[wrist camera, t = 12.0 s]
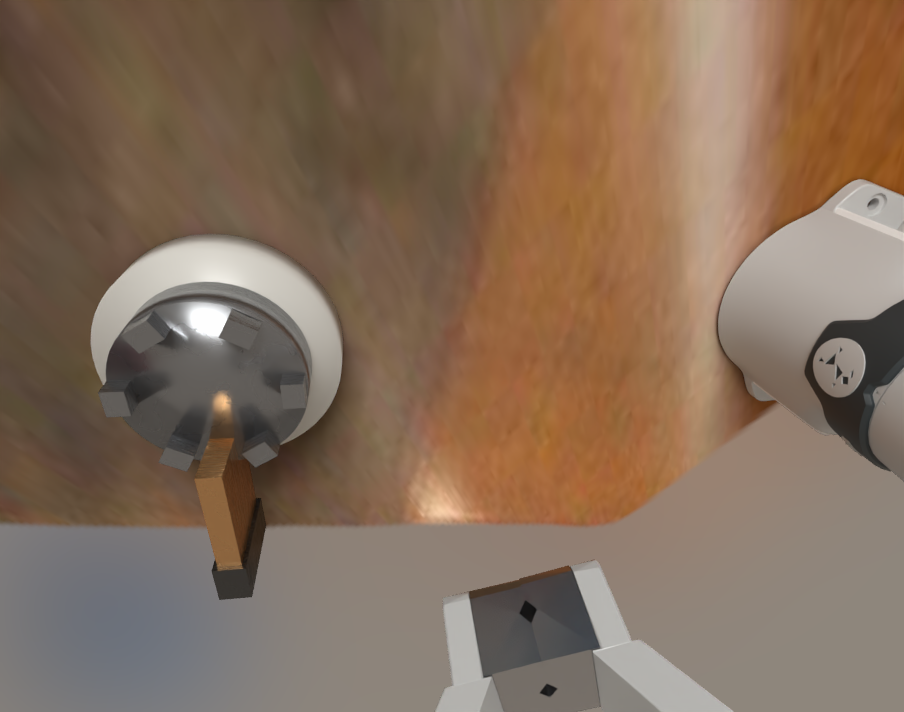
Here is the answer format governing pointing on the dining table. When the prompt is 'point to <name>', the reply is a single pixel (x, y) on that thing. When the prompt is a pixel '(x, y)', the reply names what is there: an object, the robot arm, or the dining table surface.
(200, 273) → the white round plate
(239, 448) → the lugged steel disc
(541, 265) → the dining table surface
